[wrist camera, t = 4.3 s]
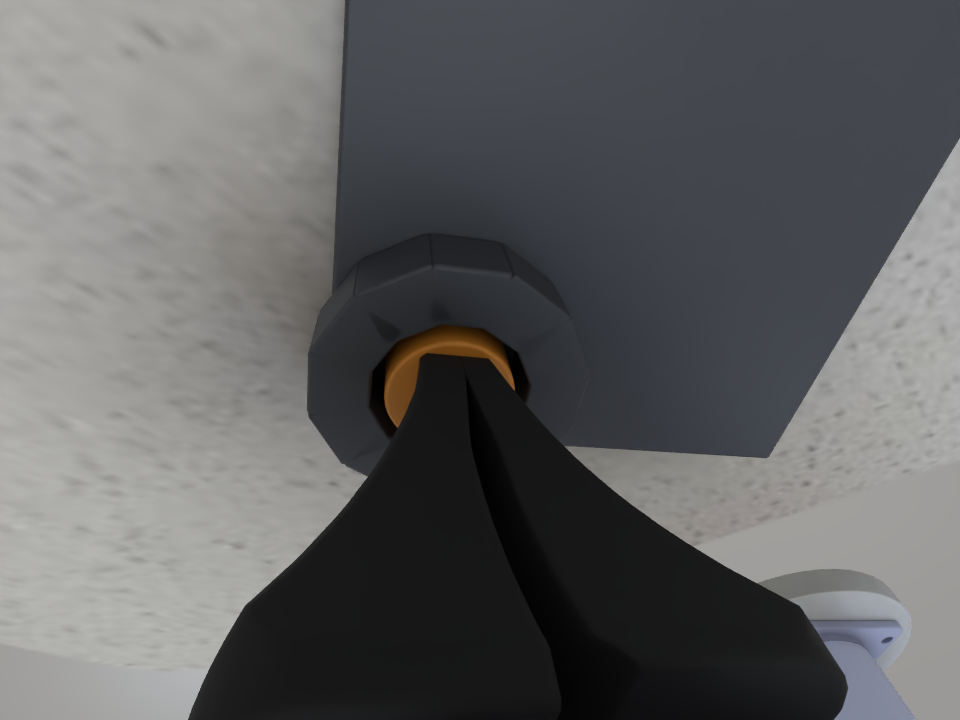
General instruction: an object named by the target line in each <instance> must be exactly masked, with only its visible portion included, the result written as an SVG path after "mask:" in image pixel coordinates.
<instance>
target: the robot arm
mask: <svg viewBox="0 0 960 720" xmlns="http://www.w3.org/2000/svg"><path fill="white" fill-rule="evenodd" d="M902 632H903V628H902V626H901V625H900V624H899V623H898V622H897V621H895V620H809V619H808V618H807V616H806V615H805V613H804V612H803V610H802V609H801V608H800V606H798V605H796V604H795V603H793V602H791V601H789V600H787V599H785V598H783V597H781V596H780V595H778V594H776V593H774V592H772V591H770V590H768V589H766V588H764V587H763V586H761V585H759V584H757V583H755V582H753V581H751V580H749V579H747V578H746V577H744V576H742V575H740V574H738V573H736V572H734V571H732V570H731V569H729V568H727V567H725V566H723V565H722V564H720V563H719V562H717V561H715V560H714V559H712V558H710V557H709V556H707V555H705V554H704V553H702V552H701V551H699V550H697V549H696V548H694V547H692V546H691V545H689V544H687V543H686V542H684V541H683V540H681V539H680V538H678V537H677V536H675V535H674V534H672V533H671V532H669V531H668V530H666V529H665V528H663V527H662V526H660V525H659V524H657V523H656V522H655V521H653V520H652V519H650V518H649V517H648V516H646V515H645V514H644V513H642V512H641V511H639V510H638V509H637V508H635V507H634V506H633V505H631V504H630V503H628V502H627V501H626V500H625V499H623V498H622V497H621V496H619V495H618V494H617V493H616V492H614V491H613V490H612V489H611V488H610V487H608V486H607V485H606V484H605V483H604V482H603V481H601V480H600V479H599V478H598V477H597V476H596V475H594V474H593V473H592V472H591V471H590V470H589V469H587V468H586V467H585V466H584V465H583V464H582V463H581V462H580V461H579V460H578V459H576V458H575V457H574V456H573V455H572V454H571V453H570V452H569V451H568V450H567V449H566V448H565V447H564V446H563V445H562V444H561V443H560V442H559V441H558V440H557V439H556V438H555V437H554V436H553V434H552V433H551V432H550V431H549V430H548V429H547V428H546V427H545V426H544V425H543V424H542V423H541V421H540V420H539V419H538V418H537V417H536V416H535V415H534V414H533V412H532V411H531V410H530V409H529V408H528V407H527V405H526V404H525V403H524V402H523V401H522V399H521V398H520V397H519V396H518V394H517V393H516V392H515V391H514V390H513V388H512V387H511V386H510V385H509V383H508V382H507V381H506V379H505V378H504V377H503V376H502V374H501V373H500V372H499V371H498V369H497V368H496V367H495V365H494V364H493V363H492V362H491V360H490V359H489V358H479V357H468V356H456V355H445V354H434V353H426V354H424V355H423V356H421V357H420V361H419V368H418V375H417V381H416V388H415V391H414V393H413V396H412V398H411V401H410V403H409V406H408V408H407V411H406V413H405V415H404V417H403V419H402V421H401V423H400V425H399V427H398V429H397V430H396V432H395V434H394V436H393V438H392V440H391V442H390V443H389V445H388V447H387V448H386V450H385V452H384V453H383V455H382V457H381V458H380V460H379V461H378V463H377V464H376V466H375V467H374V469H373V470H372V472H371V473H370V475H369V476H368V477H367V479H366V480H365V481H364V483H363V484H362V485H361V487H360V488H359V489H358V491H357V492H356V493H355V495H354V496H353V497H352V498H351V500H350V501H349V502H348V504H347V505H346V506H345V507H344V508H343V510H342V511H341V512H340V513H339V514H338V516H337V517H336V518H335V519H334V520H333V521H332V522H331V523H330V524H329V525H328V526H327V528H326V529H325V530H324V531H323V532H322V533H321V534H320V535H319V536H318V537H317V538H316V539H315V540H314V541H313V543H312V544H311V545H310V546H309V547H308V548H307V549H306V550H305V551H304V552H303V553H302V554H301V555H300V556H299V557H298V558H297V559H296V560H295V561H294V562H293V563H292V564H291V565H290V566H289V567H288V568H286V569H285V570H284V571H283V572H282V573H281V574H280V575H279V576H278V577H277V578H275V579H274V580H273V581H272V582H271V583H270V584H269V585H268V586H267V587H265V588H264V589H263V590H262V591H261V592H260V593H259V594H258V595H257V596H256V597H254V598H253V599H252V600H251V601H250V602H249V603H248V604H247V605H246V606H245V607H244V608H243V610H242V612H241V613H240V615H239V617H238V618H237V620H236V622H235V623H234V625H233V627H232V629H231V630H230V632H229V634H228V635H227V637H226V639H225V641H224V642H223V644H222V646H221V648H220V650H219V652H218V654H217V655H216V657H215V659H214V661H213V663H212V665H211V667H210V669H209V671H208V673H207V675H206V677H205V679H204V682H203V684H202V686H201V688H200V691H199V693H198V696H197V698H196V700H195V703H194V705H193V708H192V710H191V713H190V716H189V719H188V720H917V719H916V717H915V716H914V715H913V713H912V712H911V710H910V709H909V708H908V706H907V705H906V703H905V702H904V701H903V699H902V698H901V697H900V695H899V694H898V692H897V691H896V689H895V688H894V687H893V685H892V684H891V682H890V681H889V680H888V678H887V677H886V676H885V674H884V673H883V671H882V670H881V668H880V667H879V666H878V664H877V663H876V661H875V660H876V659H877V658H878V657H879V656H880V655H881V654H882V653H883V652H884V651H885V650H886V649H887V648H888V647H889V646H890V645H891V644H892V643H893V642H894V641H895V640H896V639H897V638H898V637H899V636H900V635H901V634H902Z"/></svg>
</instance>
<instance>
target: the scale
mask: <svg viewBox="0 0 960 720" xmlns="http://www.w3.org/2000/svg"><path fill="white" fill-rule="evenodd" d="M959 138H960V0H345V19H344V42H343V64H342V87H341V109H340V132H339V154H338V177H337V199H336V222H335V244H334V267H333V289H332V296H331V297H330V299H329V300H328V301H327V303H326V304H325V305H324V306H323V308H322V309H321V310H320V314H319V316H318V319H317V323H316V326H315V330H314V334H313V338H312V342H311V345H310V349H309V353H308V387H307V411H308V416H309V418H310V420H311V421H312V422H313V424H314V425H315V427H316V428H317V429H318V431H319V432H320V434H321V435H322V437H323V438H324V439H325V441H326V442H327V444H328V445H329V446H330V448H331V449H332V451H333V452H334V454H335V455H336V456H337V458H338V459H339V461H340V462H341V463H342V464H345V465H346V466H347V467H350V468H352V469H354V470H356V471H358V472H360V473H362V474H364V475H366V476H369V475H370V473H371V472H372V470H373V469H374V467H375V466H376V464H377V463H378V461H379V460H380V458H381V457H382V455H383V453H384V452H385V450H386V448H387V447H388V445H389V443H390V442H391V440H392V438H393V436H394V434H395V432H396V430H397V429H398V428H397V427H396V425H395V424H394V423H393V421H392V420H391V419H390V417H389V415H388V413H387V410H386V407H385V401H384V388H385V366H386V355H387V353H388V352H389V351H390V350H391V349H392V348H393V346H394V345H395V344H396V343H397V342H398V341H399V340H402V339H405V338H407V337H410V336H413V335H415V334H418V333H421V332H424V331H426V330H429V329H432V328H434V327H437V326H440V325H449V326H459V327H469V328H479V329H484V330H486V331H487V332H489V333H490V334H492V335H493V336H495V337H496V338H498V339H499V340H500V341H502V342H503V345H504V349H505V352H506V355H507V359H508V362H509V366H510V369H511V373H512V376H513V379H514V385H515V392H516V393H517V394H518V396H519V397H520V398H521V399H522V401H523V402H524V403H525V404H526V405H527V407H528V408H529V409H530V410H531V411H532V412H533V414H534V415H535V416H536V417H537V418H538V419H539V420H540V421H541V423H542V424H543V425H544V426H545V427H546V428H547V429H548V430H549V431H550V432H551V433H552V434H553V436H554V437H555V438H556V439H557V440H558V441H559V442H560V443H561V444H562V445H563V446H577V447H593V448H610V449H626V450H643V451H659V452H675V453H692V454H708V455H725V456H741V457H757V458H767V457H769V456H770V454H771V452H772V451H773V449H774V447H775V446H776V444H777V442H778V441H779V439H780V437H781V436H782V434H783V432H784V431H785V429H786V427H787V425H788V424H789V422H790V420H791V419H792V417H793V415H794V414H795V412H796V410H797V409H798V407H799V405H800V404H801V402H802V400H803V399H804V397H805V395H806V394H807V392H808V390H809V389H810V387H811V385H812V384H813V382H814V380H815V379H816V377H817V375H818V374H819V372H820V370H821V369H822V367H823V365H824V364H825V362H826V360H827V359H828V357H829V355H830V354H831V352H832V350H833V349H834V347H835V345H836V344H837V342H838V340H839V339H840V337H841V335H842V334H843V332H844V330H845V329H846V327H847V325H848V324H849V322H850V320H851V319H852V317H853V315H854V314H855V312H856V310H857V309H858V307H859V305H860V304H861V302H862V300H863V299H864V297H865V295H866V294H867V292H868V290H869V289H870V287H871V285H872V284H873V282H874V280H875V278H876V277H877V275H878V273H879V272H880V270H881V268H882V267H883V265H884V263H885V262H886V260H887V258H888V257H889V255H890V253H891V252H892V250H893V248H894V247H895V245H896V243H897V242H898V240H899V238H900V237H901V235H902V233H903V232H904V230H905V228H906V227H907V225H908V223H909V222H910V220H911V218H912V217H913V215H914V213H915V212H916V210H917V208H918V207H919V205H920V203H921V202H922V200H923V198H924V197H925V195H926V193H927V192H928V190H929V188H930V187H931V185H932V183H933V182H934V180H935V178H936V177H937V175H938V173H939V172H940V170H941V168H942V167H943V165H944V163H945V162H946V160H947V158H948V157H949V155H950V153H951V152H952V150H953V148H954V147H955V145H956V143H957V142H958V140H959Z"/></svg>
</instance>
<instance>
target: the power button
mask: <svg viewBox="0 0 960 720" xmlns="http://www.w3.org/2000/svg"><path fill="white" fill-rule="evenodd" d="M426 353H434V354H445V355H456V356H468V357H479V358H489V359H490V360H491V362H492V363H493V364H494V365H495V367H496V368H497V369H498V371H499V372H500V373H501V374H502V376H503V377H504V378H505V379H506V381H507V382H508V383H509V385H510V386H511V387H512V388H513V390H514V391H515V385H514V379H513V376H512V373H511V369H510V366H509V362H508V359H507V355H506V352H505V349H504V345H503V342H502V341H500V340H499V339H498V338H496V337H495V336H493V335H492V334H490V333H489V332H487V331H486V330H484V329H479V328H469V327H459V326H449V325H440V326H437V327H434V328H432V329H429V330H426V331H424V332H421V333H418V334H415V335H413V336H410V337H407V338H405V339H402V340H399V341H398V342H397V343H396V344H395V345H394V346H393V348H392V349H391V350H390V351H389V352H388V353H387V355H386V366H385V388H384V401H385V407H386V410H387V413H388V415H389V417H390V419H391V420H392V421H393V423H394V424H395V425H396V427H397V428H398V427H399V425H400V423H401V421H402V419H403V417H404V415H405V413H406V411H407V408H408V406H409V403H410V401H411V398H412V396H413V393H414V391H415V388H416V381H417V375H418V368H419V361H420V357H421V356H423V355H424V354H426Z"/></svg>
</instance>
